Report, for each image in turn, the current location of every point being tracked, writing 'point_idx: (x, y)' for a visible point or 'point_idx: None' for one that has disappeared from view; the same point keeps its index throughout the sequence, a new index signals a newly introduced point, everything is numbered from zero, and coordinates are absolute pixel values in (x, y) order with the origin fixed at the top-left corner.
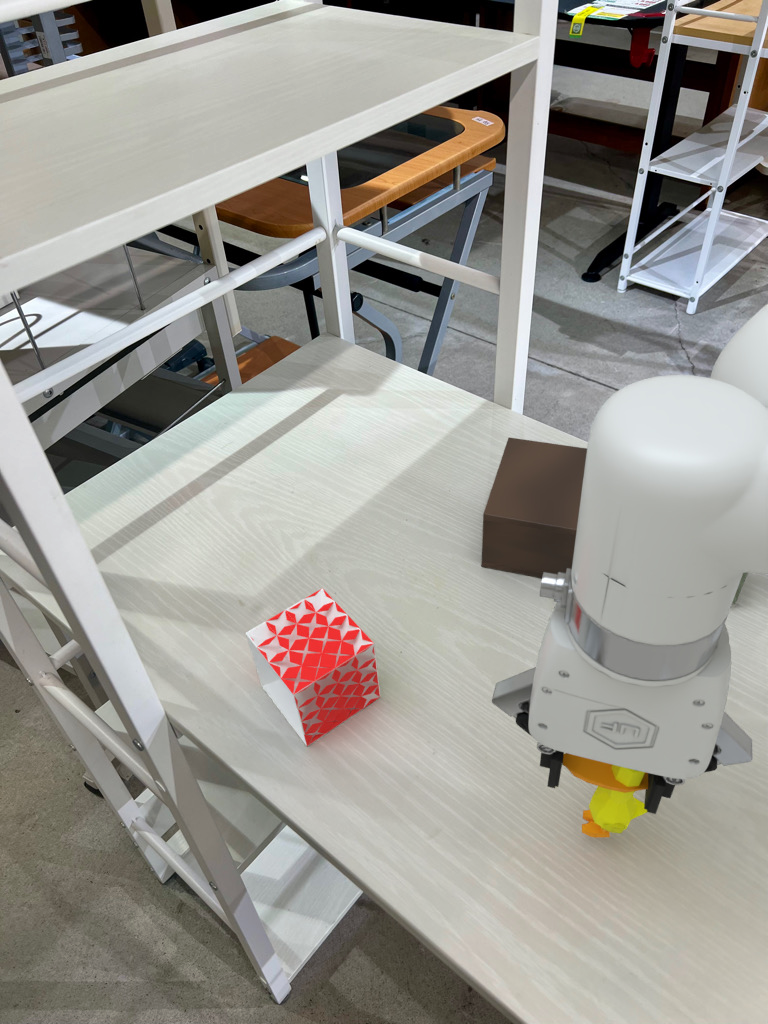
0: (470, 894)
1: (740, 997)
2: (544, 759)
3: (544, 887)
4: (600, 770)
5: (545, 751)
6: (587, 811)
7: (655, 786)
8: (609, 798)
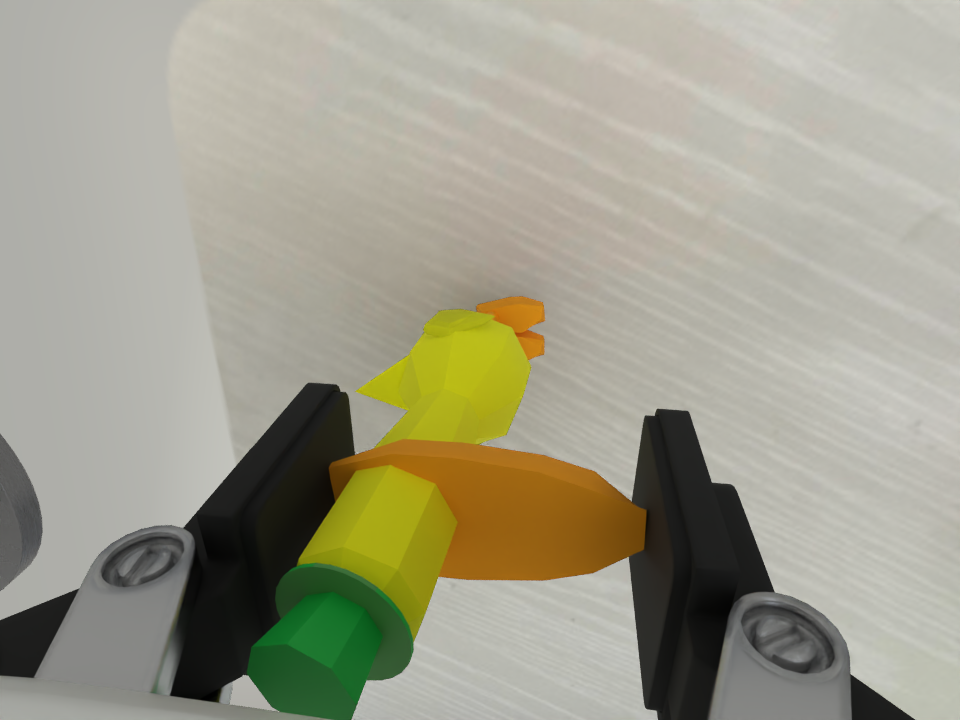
0: (818, 89)
1: (190, 43)
2: (732, 527)
3: (619, 162)
4: (494, 509)
5: (774, 605)
6: (533, 354)
7: (250, 502)
8: (469, 401)
